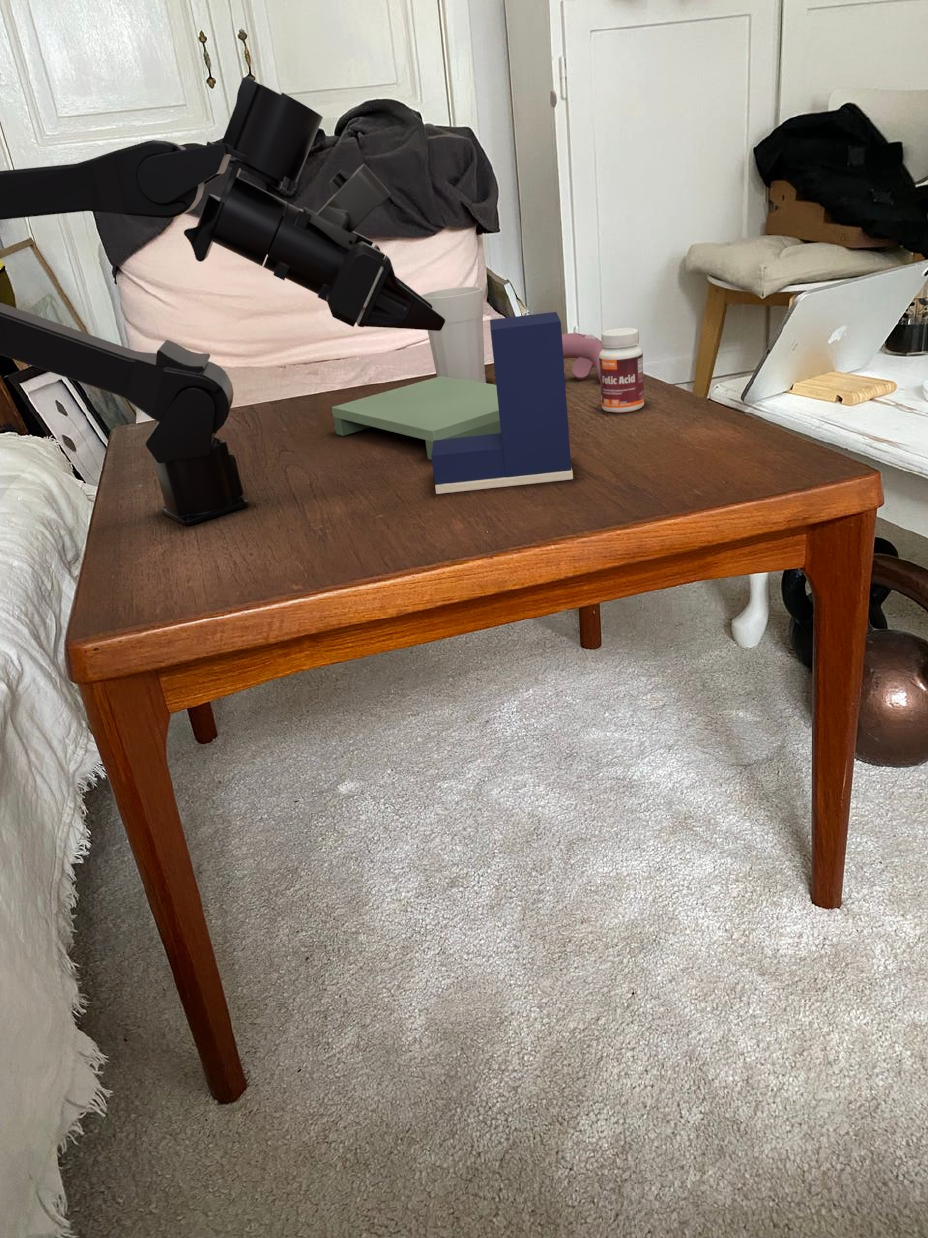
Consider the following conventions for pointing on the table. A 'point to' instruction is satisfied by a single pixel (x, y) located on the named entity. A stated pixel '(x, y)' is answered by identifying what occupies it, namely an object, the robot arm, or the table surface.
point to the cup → (458, 333)
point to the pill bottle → (621, 371)
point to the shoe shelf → (425, 411)
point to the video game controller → (582, 353)
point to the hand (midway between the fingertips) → (436, 317)
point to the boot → (516, 414)
